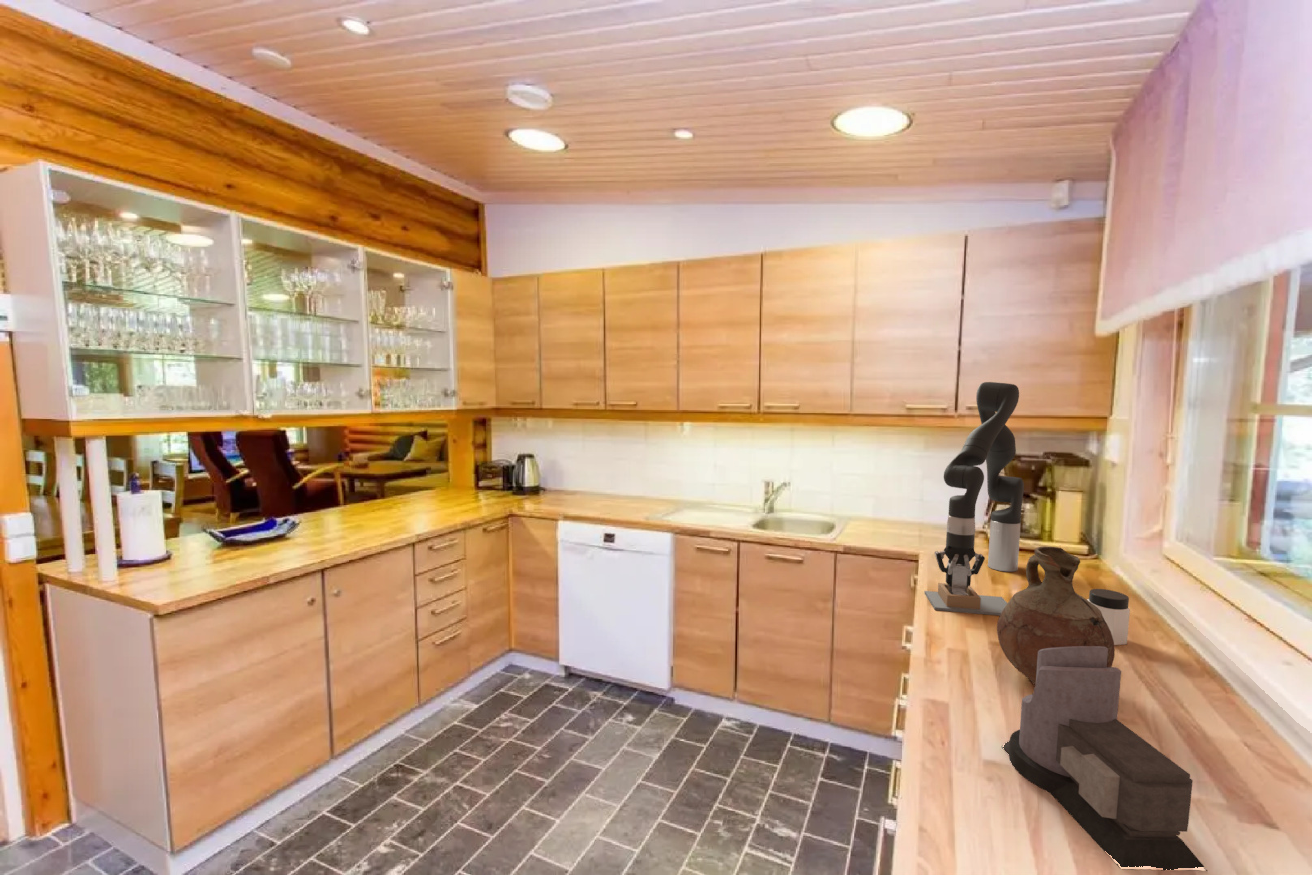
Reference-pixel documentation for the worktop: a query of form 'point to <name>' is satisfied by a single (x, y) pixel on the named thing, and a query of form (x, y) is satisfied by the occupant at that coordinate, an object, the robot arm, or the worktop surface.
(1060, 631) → the jug
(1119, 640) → the jar
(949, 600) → the board
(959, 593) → the block
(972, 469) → the robot arm
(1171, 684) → the worktop surface
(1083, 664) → the brown blocky piece
